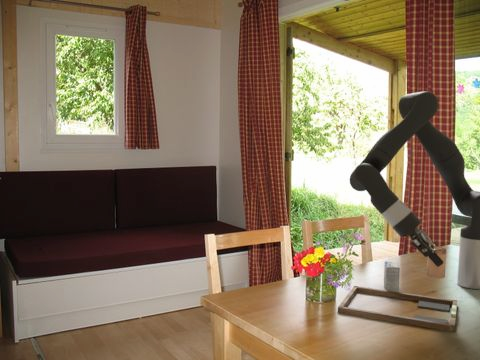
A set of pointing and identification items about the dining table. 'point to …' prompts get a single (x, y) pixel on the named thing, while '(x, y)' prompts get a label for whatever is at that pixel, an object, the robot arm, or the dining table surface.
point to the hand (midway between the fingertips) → (441, 262)
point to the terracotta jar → (432, 268)
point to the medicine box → (391, 276)
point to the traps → (435, 307)
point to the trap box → (396, 318)
